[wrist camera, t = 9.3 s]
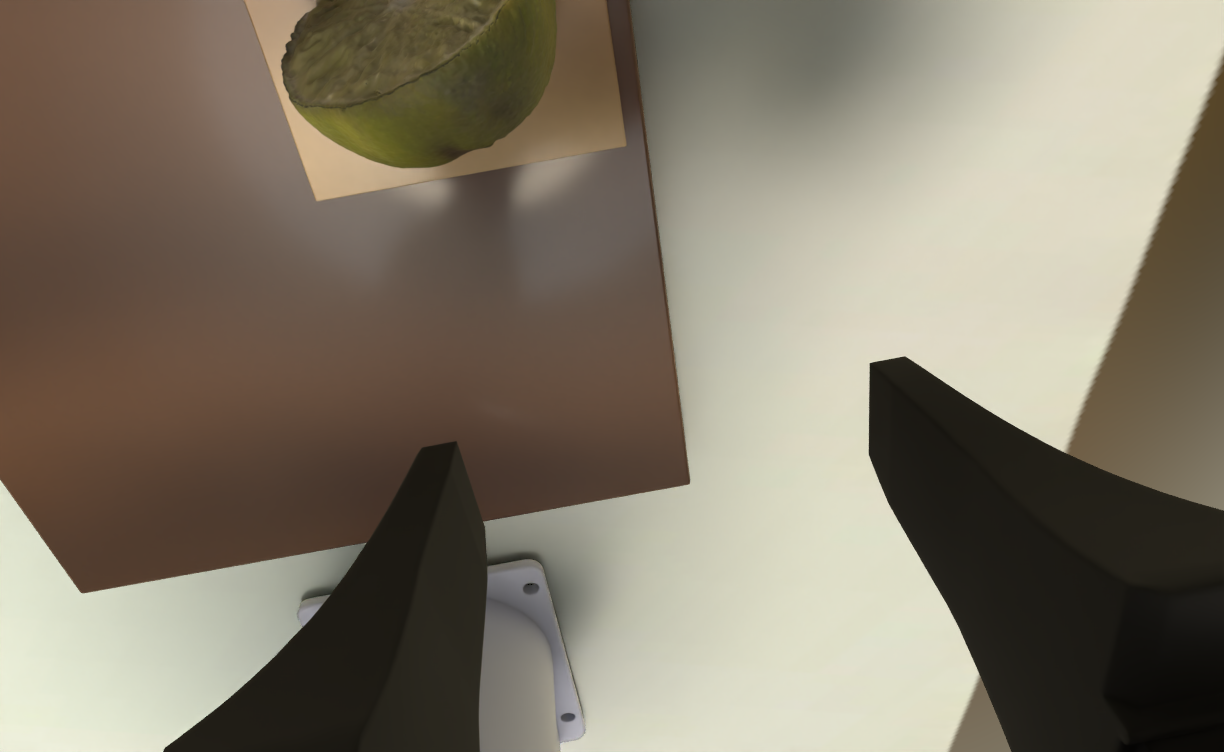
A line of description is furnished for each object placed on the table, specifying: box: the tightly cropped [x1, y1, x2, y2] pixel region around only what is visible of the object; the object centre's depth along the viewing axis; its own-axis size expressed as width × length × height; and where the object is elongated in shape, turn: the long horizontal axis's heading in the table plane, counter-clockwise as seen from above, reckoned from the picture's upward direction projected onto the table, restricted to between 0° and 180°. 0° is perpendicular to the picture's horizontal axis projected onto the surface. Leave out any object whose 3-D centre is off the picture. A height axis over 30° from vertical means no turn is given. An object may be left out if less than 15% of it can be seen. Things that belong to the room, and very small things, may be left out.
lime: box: [281, 0, 557, 169], centre depth 16 cm, size 4×5×5 cm
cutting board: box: [0, 0, 690, 593], centre depth 21 cm, size 18×18×2 cm
